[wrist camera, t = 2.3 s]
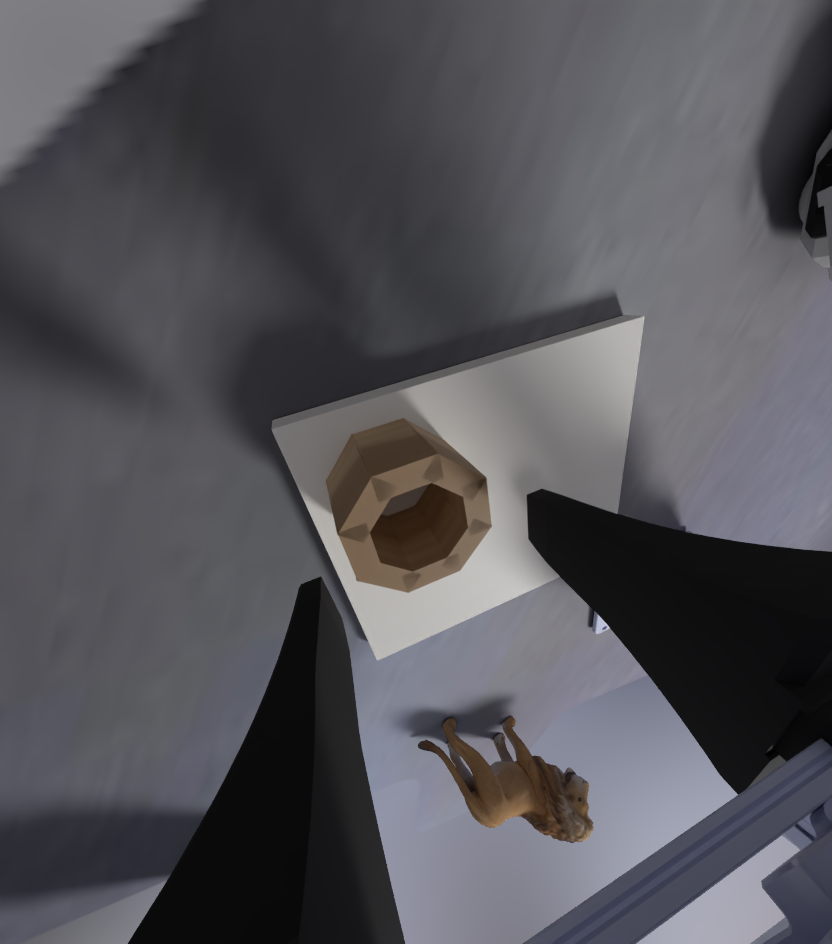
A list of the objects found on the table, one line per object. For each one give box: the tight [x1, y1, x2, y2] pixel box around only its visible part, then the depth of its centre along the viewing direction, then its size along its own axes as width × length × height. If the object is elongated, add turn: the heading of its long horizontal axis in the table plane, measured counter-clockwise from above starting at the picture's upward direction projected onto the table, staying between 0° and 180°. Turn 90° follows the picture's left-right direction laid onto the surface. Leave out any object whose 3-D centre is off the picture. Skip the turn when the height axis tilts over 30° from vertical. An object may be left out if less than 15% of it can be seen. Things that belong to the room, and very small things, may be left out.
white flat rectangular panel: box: [271, 315, 645, 661], centre depth 19 cm, size 18×16×1 cm
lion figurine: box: [418, 716, 593, 843], centre depth 29 cm, size 15×5×9 cm, turn 66°
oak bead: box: [326, 418, 492, 593], centre depth 14 cm, size 6×6×4 cm
